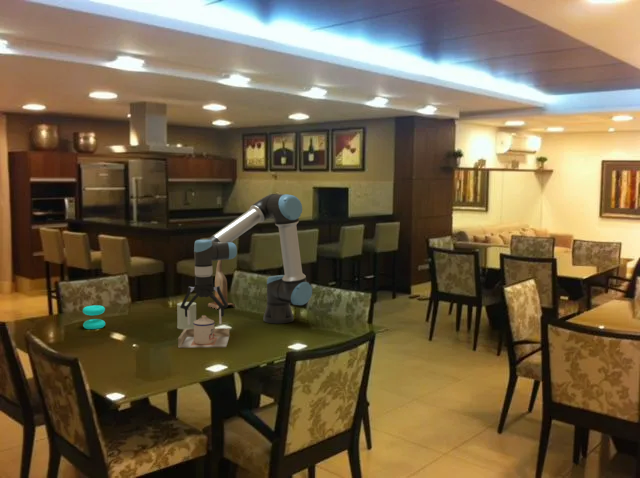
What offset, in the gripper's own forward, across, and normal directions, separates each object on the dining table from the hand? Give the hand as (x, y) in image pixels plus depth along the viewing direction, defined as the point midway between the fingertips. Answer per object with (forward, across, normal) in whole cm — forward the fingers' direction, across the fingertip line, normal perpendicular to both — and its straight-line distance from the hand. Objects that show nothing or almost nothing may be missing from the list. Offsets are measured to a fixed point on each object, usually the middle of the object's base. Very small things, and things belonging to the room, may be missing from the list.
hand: (204, 323), depth 263 cm
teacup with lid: (+8, 0, 0) cm, 8 cm away
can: (+9, +12, -29) cm, 33 cm away
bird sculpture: (+9, 0, -76) cm, 76 cm away
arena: (+8, 0, -1) cm, 8 cm away
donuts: (+8, +56, -30) cm, 64 cm away
